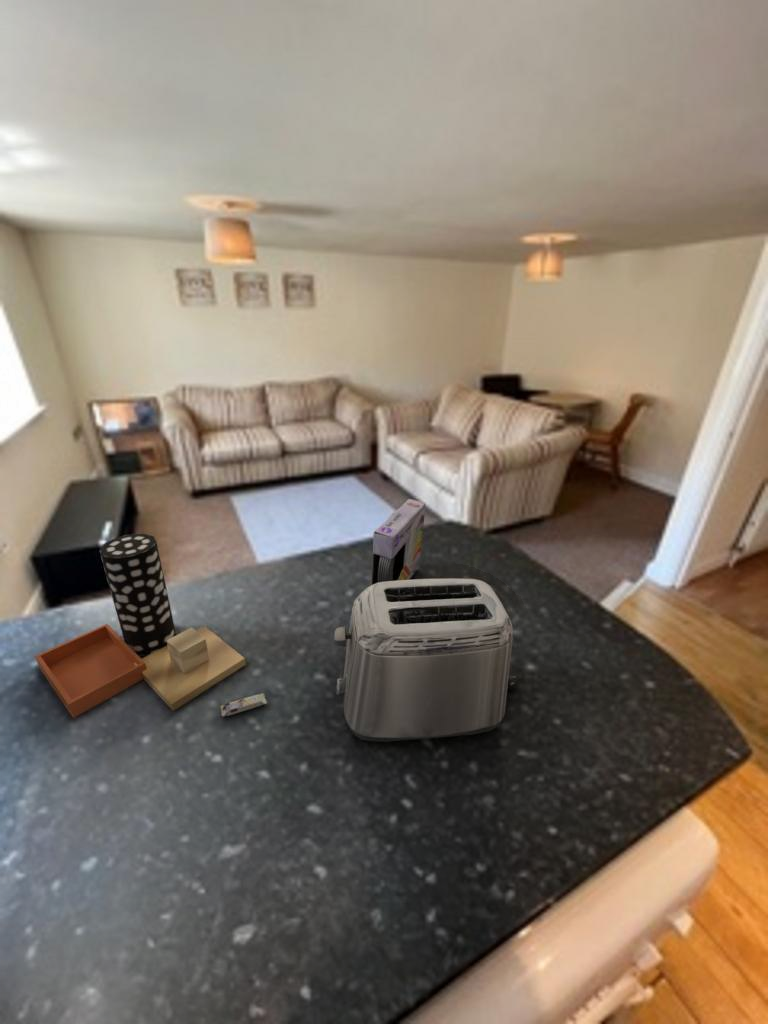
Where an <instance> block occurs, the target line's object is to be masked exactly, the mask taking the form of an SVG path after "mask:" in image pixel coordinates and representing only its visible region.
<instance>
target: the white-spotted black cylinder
mask: <svg viewBox="0 0 768 1024" xmlns="http://www.w3.org/2000/svg"><path fill="white" fill-rule="evenodd" d="M158 546H159V545H158V542H157V538H156V537H155V536H153V535H152V534H148V533H130V534H124V535H121V536H118V537H114V538H112V539H110V540H108V541H106V542H104V544H103V545H101V547H100V548H99V554H100V558H101V561H102V566H103V568H104V573H105V576H106V580H107V583H108V584H107V585H108V587H109V591H110V593H111V598H112V601H113V606H114V609H115V614H116V615H117V620H118V624H119V628H120V631H121V635H122V639H123V640H124V641H125V643H126V644H127V645H128V646H129V647H130V648H131V649H132V650H133V651H134V652H135V653H136V654H137V655H138V656H139V657H140V656H141V657H143V656H144V657H146V656H148V655H150V654H152V653H154V652H156V651H157V650H159V649H161V648H163V647H165V646H167V640H168V639H170V638H172V637H174V636H176V635H177V631H176V627H175V621H174V617H173V612H172V607H171V604H170V599H169V594H168V589H167V585H166V579H165V576H164V570H163V566H162V561H161V556H160V552H159V547H158Z"/></svg>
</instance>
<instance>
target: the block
mask: <svg viewBox="0 0 768 1024" xmlns="http://www.w3.org/2000/svg"><path fill="white" fill-rule="evenodd" d="M196 630H197V629H195V628H193V627H192V626H191V627H190V628H187V629H186V630H184V631H182V632H179V633H178V634H176V636H174V637H172V638H170V639H168V640H167V645H168V650H169V654H170V659H171V661H172V662H173V663H174V664H175V665H176V666H177V667H178V668H179V669H180V670H181V671H182V672H183V673H184V674H185V673H187V672H189V671H191V670H192V669H194V668H196V667H197V666H199V665H201V664H202V663H204V662H206V661H208V660H209V655H208V649H207V643H206V639H205V638H204V637H203V636H202V635H200V634H199V633H198V632H197V631H196Z"/></svg>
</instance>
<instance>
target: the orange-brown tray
mask: <svg viewBox="0 0 768 1024" xmlns="http://www.w3.org/2000/svg"><path fill="white" fill-rule="evenodd" d="M34 657H35V660H36V662H37V665H38V669H39V670H40V671H41V673H42V674H43V676H44V677H45V679H46V680H47V681H48V683H49V684H50V686H51V687H52V689H53V690H54V692H55V693H56V695H57V696H58V698H59V700H60V701H61V702H62V704H63V705H64V707H65V708H66V710H67V711H68V713H69V714H70V716H71V717H72V718H73V719H74V718H76V717H78V716H80V715H81V714H83V713H85V712H86V711H89V710H90V709H92V708H95V707H96V706H98V705H99V704H101V703H103V702H105V701H107V700H109V699H110V698H112V697H114V696H116V695H117V694H119V693H121V692H122V691H124V690H126V689H128V688H129V687H132V686H134V685H135V684H137V683H139V682H140V681H143V680H144V679H143V676H142V672H143V671H145V670H146V669H147V667H146V663H145V662H144V661H143V660H142V658H141V657H140V656H138V655H137V654H136V653H135V652H134V651H133V650H132V649H131V648H130V647H129V646H128V645H127V644H126V643H125V641H124V638H123V637H121V636H120V635H119V634H118V633H117V632H116V631H115V630H114V629H113V627H111V626H110V624H108V623H106V624H104V625H101V626H99V627H96V628H94V629H92V630H89V631H87V632H86V633H83V634H81V635H79V636H76V637H74V638H72V639H70V640H67V641H65V642H63V643H61V644H59V645H57V646H54V647H52V648H50V649H47V650H45V651H43V652H41V653H38V654H37V655H35V656H34ZM133 663H136V664H137V665H136V666H135V667H134V664H133Z"/></svg>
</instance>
